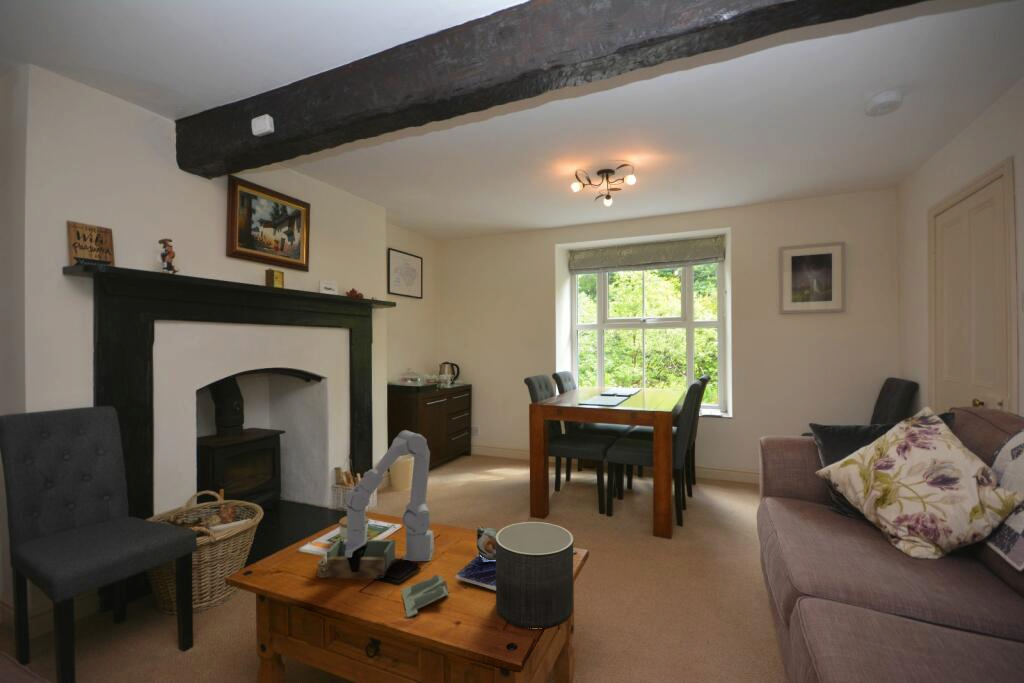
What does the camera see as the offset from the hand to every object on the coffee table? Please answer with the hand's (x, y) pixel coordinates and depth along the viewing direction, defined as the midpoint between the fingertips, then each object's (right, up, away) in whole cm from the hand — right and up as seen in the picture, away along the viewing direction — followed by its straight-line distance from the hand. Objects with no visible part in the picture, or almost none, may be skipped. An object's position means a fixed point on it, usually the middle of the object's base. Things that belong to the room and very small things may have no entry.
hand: (356, 569), depth 150 cm
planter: (+57, -2, -17) cm, 59 cm away
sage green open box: (-1, -2, +6) cm, 6 cm away
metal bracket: (+25, -3, -13) cm, 28 cm away
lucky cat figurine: (+45, -2, +11) cm, 46 cm away
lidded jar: (-10, -2, +28) cm, 30 cm away
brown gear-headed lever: (-2, -2, 0) cm, 3 cm away
